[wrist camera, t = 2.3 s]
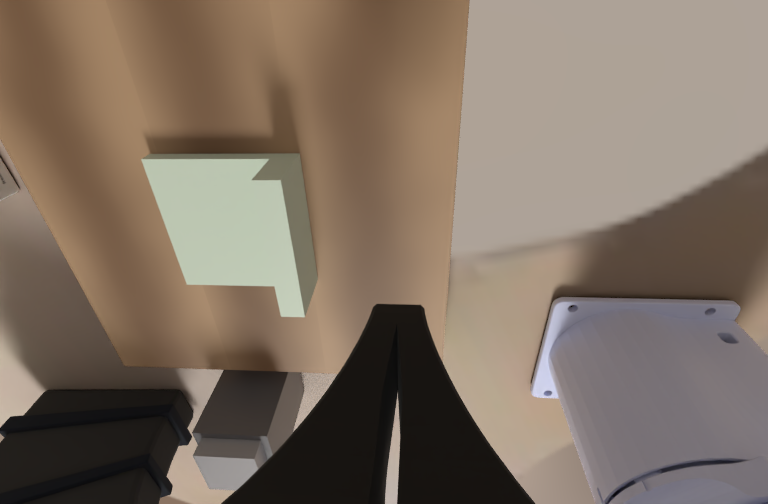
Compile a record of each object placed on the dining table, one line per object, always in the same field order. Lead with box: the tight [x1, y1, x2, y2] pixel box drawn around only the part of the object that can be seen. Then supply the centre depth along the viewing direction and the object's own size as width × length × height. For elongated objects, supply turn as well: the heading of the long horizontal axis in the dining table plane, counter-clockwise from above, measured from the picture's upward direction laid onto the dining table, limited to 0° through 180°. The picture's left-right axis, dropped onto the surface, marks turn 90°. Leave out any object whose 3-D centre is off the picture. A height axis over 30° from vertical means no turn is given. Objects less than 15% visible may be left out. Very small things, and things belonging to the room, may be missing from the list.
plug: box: [192, 370, 304, 490], centre depth 24 cm, size 4×4×7 cm
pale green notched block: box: [141, 153, 318, 317], centre depth 16 cm, size 6×6×3 cm
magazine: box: [0, 390, 193, 504], centre depth 25 cm, size 4×13×15 cm, turn 95°
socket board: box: [0, 0, 469, 374], centre depth 19 cm, size 18×19×3 cm
